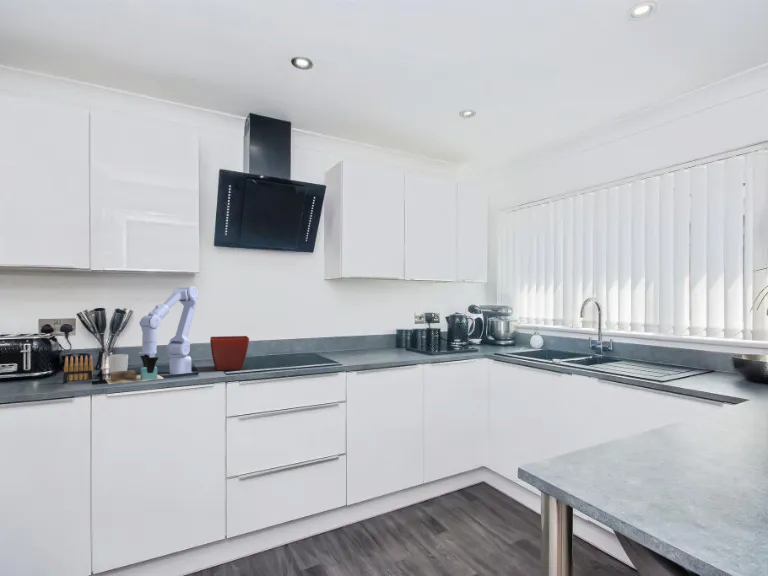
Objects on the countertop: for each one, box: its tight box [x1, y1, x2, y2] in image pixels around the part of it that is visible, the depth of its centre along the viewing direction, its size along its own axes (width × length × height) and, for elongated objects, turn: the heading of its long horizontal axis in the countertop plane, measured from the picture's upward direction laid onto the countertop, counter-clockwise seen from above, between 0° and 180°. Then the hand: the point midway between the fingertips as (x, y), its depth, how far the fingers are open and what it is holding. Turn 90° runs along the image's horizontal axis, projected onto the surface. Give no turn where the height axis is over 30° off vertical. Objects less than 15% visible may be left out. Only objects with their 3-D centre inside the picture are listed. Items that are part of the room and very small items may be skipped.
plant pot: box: [209, 335, 250, 371], centre depth 220 cm, size 19×19×17 cm
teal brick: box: [139, 365, 158, 381], centre depth 186 cm, size 6×4×5 cm
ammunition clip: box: [62, 354, 94, 385], centre depth 182 cm, size 11×2×12 cm, turn 119°
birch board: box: [104, 373, 165, 385], centre depth 186 cm, size 21×17×1 cm
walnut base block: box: [110, 369, 137, 381], centre depth 185 cm, size 9×7×3 cm
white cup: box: [108, 353, 129, 376], centre depth 199 cm, size 8×8×10 cm
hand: (148, 371), depth 186 cm, fingers open, 7 cm apart
